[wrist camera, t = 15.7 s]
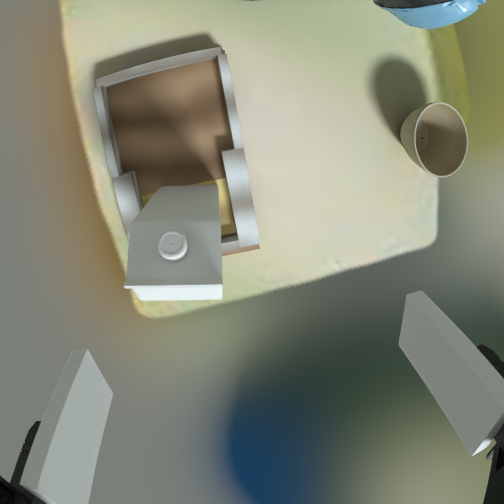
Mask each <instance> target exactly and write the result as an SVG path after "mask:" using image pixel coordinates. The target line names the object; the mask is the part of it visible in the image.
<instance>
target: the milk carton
mask: <svg viewBox="0 0 504 504" xmlns="http://www.w3.org/2000/svg"><path fill="white" fill-rule="evenodd" d="M222 287H223V281H222V253H221V219H220V205H219V190H218V185H182V186H162V187H160V188H159V190H158V191H157V192H156V193H155V194H154V195H153V197H152V198H151V199H150V200H149V201H148V203H147V204H146V205H145V206H144V207H143V209H142V210H141V211H140V212H139V214H138V215H137V216H136V217H135V219H134V220H133V221H132V223H131V225H130V236H129V250H128V266H127V280H126V282H125V284H124V288H132V289H133V290H134V291H135V293H136V294H137V296H138V297H139V298H140V300H211V299H222Z"/></svg>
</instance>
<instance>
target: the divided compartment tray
mask: <svg viewBox="0 0 504 504" xmlns="http://www.w3.org/2000/svg"><path fill="white" fill-rule="evenodd" d="M96 86H97V87H95V88H93V91H94V98H95V103H96V109H97V114H98V120H99V125H100V130H101V135H102V140H103V144H104V149H105V153H106V158H107V162H108V166H109V170H110V175H111V179H112V183H113V186H114V190H115V194H116V198H117V201H118V205H119V209H120V212H121V216H122V219H123V223H124V226H125V229H126V233H127V236H128V239H129V236H130V225H131V223H132V221H133V220H134V219H135V217H136V216H137V215H138V214H139V212H140V211H141V210H142V209H143V207H144V206H145V205H146V204H147V203H148V201H149V200H150V199H151V198H152V197H153V195H154V194H155V193H156V192H157V191H158V190H159V188H160V187H162V186H182V185H218V190H219V205H220V219H221V253H222V256H225V255H230V254H235V253H240V252H245V251H250V250H255V249H260V247H259V244H260V240H259V235H258V229H257V223H256V217H255V211H254V205H253V200H252V194H251V188H250V182H249V177H248V171H247V165H246V160H245V154H244V148H243V143H242V137H241V131H240V126H239V120H238V115H237V109H236V103H235V98H234V92H233V87H232V81H231V76H230V71H229V65H228V60H227V54H225V50H221V47H216V48H210V49H205V50H199V51H194V52H189V53H185V54H180V55H176V56H172V57H168V58H163V59H160V60H156V61H152V62H148V63H145V64H141V65H138V66H134V67H131V68H128V69H125V70H121V71H118V72H115V73H112V74H109V75H107V76H104V77H101V78H98V79H96Z"/></svg>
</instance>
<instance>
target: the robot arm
mask: <svg viewBox="0 0 504 504" xmlns="http://www.w3.org/2000/svg"><path fill="white" fill-rule="evenodd" d="M251 1H252V0H251ZM373 1H374V3H375V4H376V5H377V6H379V7H380V8H382V9H385V10H387V11H389V12H390V13H392V14H393V15H394V16H396V17H397V18H398V19H400V20H401V21H402V22H404V23H406V24H407V25H409V26H413V27H418V28H421V29H432V28H439V27H443V26H447V25H450V24H452V23H455V22H457V21H460V20H462V19H464V18H466V17H467V16H469V15H471V14H472V13H473V12H475V11H476V10H477V9H478V6H477V5H480V4H484V3H485V2H486V0H373ZM399 346H400V348H401V349H402V350H403V352H404V353H405V355H406V356H407V358H408V359H409V360H410V362H411V363H412V365H413V366H414V368H415V369H416V371H417V372H418V374H419V375H420V377H421V378H422V380H423V381H424V382H425V384H426V386H427V387H428V389H429V390H430V392H431V393H432V395H433V396H434V398H435V399H436V401H437V402H438V404H439V405H440V407H441V408H442V410H443V411H444V413H445V415H446V416H447V418H448V419H449V421H450V423H451V424H452V426H453V427H454V429H455V431H456V432H457V434H458V435H459V437H460V439H461V440H462V442H463V444H464V445H465V447H466V449H467V450H468V452H469V454H470V455H471V456H473V455H475V454H476V453H478V452H480V451H481V450H483V449H484V448H486V447H487V446H488V445H489V444H490V442H491V441H492V440H493V438H494V439H495V441H496V442H497V443H496V444H495V446H494V447H493V448H492V449H491V450H490V452H489V453H488V454H487V457H486V459H489V458H490V456H491V455H492V454H493V458H492V465H491V470H490V475H489V480H488V485H487V489H486V494H485V498H484V502H483V504H504V362H503V361H501V359H500V358H499V357H498V356H497V354H496V353H495V352H494V351H493V350H491V349H489V348H488V347H486V346H484V345H479V346H477V347H475V345H474V344H473V343H472V342H471V341H470V340H469V339H468V338H467V337H466V336H465V335H464V334H463V332H462V331H461V330H460V329H459V328H458V327H457V326H456V325H455V324H454V323H453V322H452V321H451V320H450V319H449V318H448V317H447V316H446V315H445V314H444V313H443V312H442V311H441V309H439V308H438V307H437V305H436V304H435V303H433V301H431V299H429V297H428V296H426V294H424V293H423V292H422V291H417V292H414V293H410V294H407V296H406V302H405V309H404V316H403V322H402V328H401V334H400V340H399ZM112 396H113V392H112V391H111V389H110V387H109V386H108V384H107V382H106V381H105V379H104V378H103V376H102V374H101V372H100V371H99V369H98V367H97V365H96V363H95V362H94V360H93V358H92V357H91V354H90V353H89V351H88V349H79V350H73V351H72V353H71V355H70V357H69V359H68V361H67V363H66V366H65V368H64V370H63V372H62V374H61V376H60V379H59V381H58V383H57V385H56V387H55V390H54V392H53V394H52V397H51V399H50V401H49V404H48V406H47V409H46V411H45V413H44V416H43V418H42V421H36V422H35V424H34V425H33V426H32V427H31V428H30V430H29V432H28V434H27V437H26V439H25V443H24V444H23V447H22V452H20V455H19V458H18V461H17V464H16V467H15V470H14V473H13V476H12V479H11V481H10V483H8V482H7V481H6V480H5V479H3V478H2V477H1V476H0V504H88V503H89V497H90V492H91V486H92V481H93V476H94V471H95V466H96V461H97V457H98V452H99V448H100V443H101V439H102V435H103V431H104V426H105V423H106V419H107V415H108V411H109V407H110V404H111V400H112Z"/></svg>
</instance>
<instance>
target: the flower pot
mask: <svg viewBox="0 0 504 504" xmlns="http://www.w3.org/2000/svg"><path fill="white" fill-rule="evenodd" d="M421 136H422V137H421ZM400 137H401V142H402V144H403V147H404V149H405V151H406V152H407V154H408V155H409V156H410V158H411V159H412V160H413V161H414V162H415V163H416V164H417V165H418V166H419V167H421V168H422V169H423V170H425V171H426V172H428V173H429V174H431V175H433V176H436V177H447V176H450V175H452V174H453V173H455V172H456V171H457V170H458V169H459V168H460V167H461V165H462V164H463V161H464V159H465V156H466V153H467V147H468V136H467V130H466V126H465V123H464V121H463V119H462V117H461V116H460V114H459V113H458V112H457V110H456V109H455V108H453V107H452V106H451V105H449V104H446V103H443V102H435V103H430V104H426V105H424V106H421V107H419V108H418V109H416V110H415V111H413V112H412V113H411V114H410V115H409V116H408V117H407V118H406V119H405V121H404V122H403V124H402V127H401V131H400Z"/></svg>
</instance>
